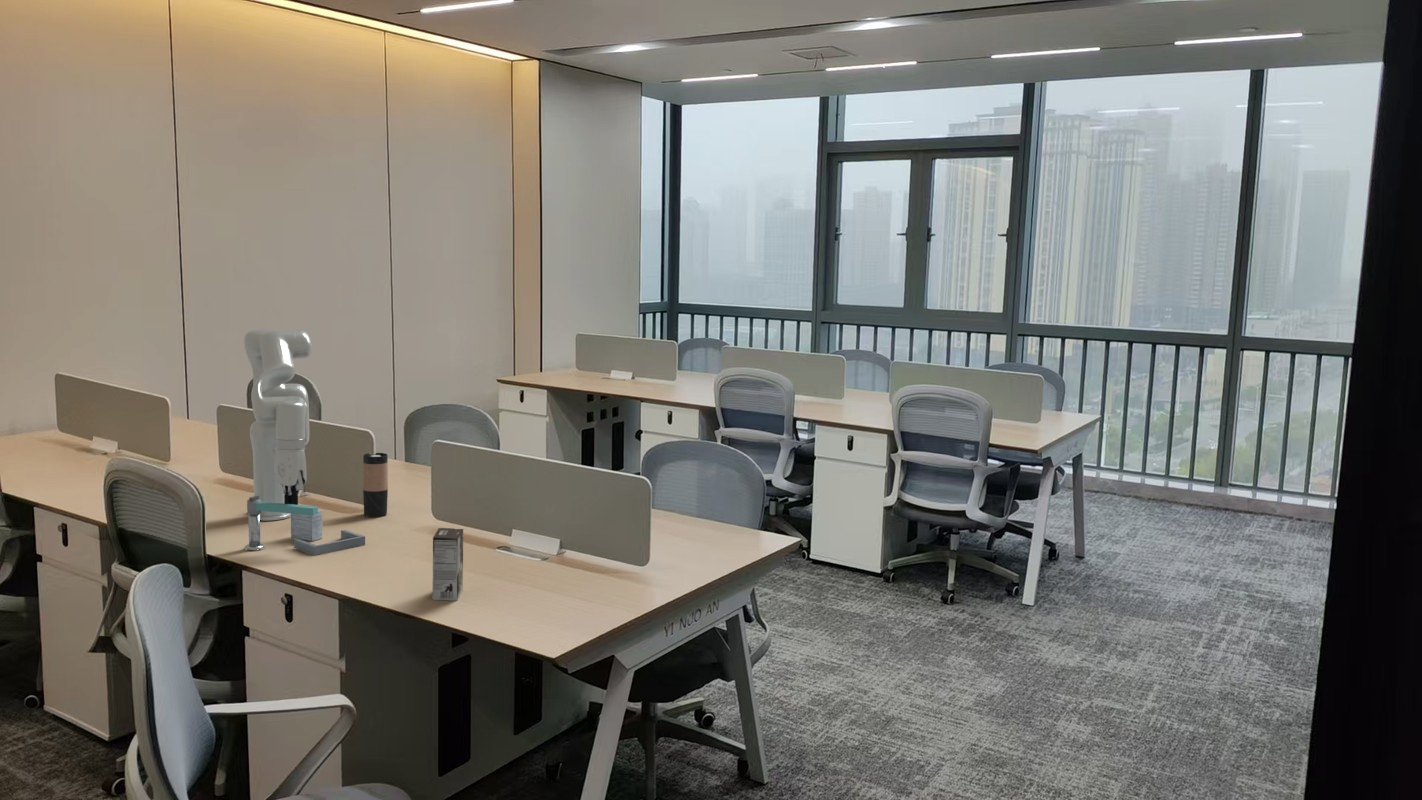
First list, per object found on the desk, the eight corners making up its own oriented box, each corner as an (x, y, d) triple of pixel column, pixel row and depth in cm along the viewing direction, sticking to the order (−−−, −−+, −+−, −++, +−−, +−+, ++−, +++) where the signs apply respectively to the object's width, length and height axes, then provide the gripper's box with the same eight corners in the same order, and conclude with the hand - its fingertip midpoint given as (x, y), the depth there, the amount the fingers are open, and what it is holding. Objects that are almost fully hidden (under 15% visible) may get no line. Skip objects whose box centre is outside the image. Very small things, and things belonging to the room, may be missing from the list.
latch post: (241, 548, 290) (241, 514, 289) (258, 545, 294) (258, 511, 293) (250, 551, 287) (250, 517, 286) (267, 548, 291) (267, 514, 290)
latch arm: (252, 511, 291) (252, 495, 291) (319, 517, 288) (319, 500, 287) (244, 514, 288) (244, 497, 287) (311, 520, 284) (311, 503, 283)
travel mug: (380, 518, 330) (380, 457, 327) (358, 516, 331) (358, 455, 329) (392, 513, 337) (392, 453, 335) (370, 511, 339) (370, 451, 336)
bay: (294, 548, 292) (294, 539, 292) (344, 537, 305) (344, 529, 305) (314, 555, 286) (314, 546, 286) (365, 544, 299) (365, 536, 299)
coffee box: (438, 589, 261) (438, 527, 259) (463, 589, 262) (464, 528, 260) (431, 600, 252) (431, 536, 250) (457, 600, 253) (458, 537, 251)
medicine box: (322, 538, 304) (322, 510, 303) (312, 542, 300) (312, 513, 299) (301, 535, 306) (300, 506, 305) (290, 538, 302) (290, 510, 301)
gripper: (264, 442, 289) (264, 505, 292) (292, 449, 280) (293, 515, 283) (288, 439, 295) (289, 501, 298) (317, 446, 286) (317, 510, 289)
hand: (291, 507), depth 290 cm, fingers closed
